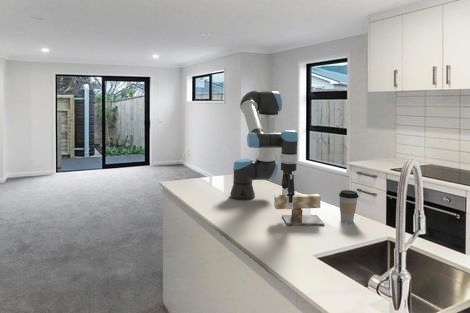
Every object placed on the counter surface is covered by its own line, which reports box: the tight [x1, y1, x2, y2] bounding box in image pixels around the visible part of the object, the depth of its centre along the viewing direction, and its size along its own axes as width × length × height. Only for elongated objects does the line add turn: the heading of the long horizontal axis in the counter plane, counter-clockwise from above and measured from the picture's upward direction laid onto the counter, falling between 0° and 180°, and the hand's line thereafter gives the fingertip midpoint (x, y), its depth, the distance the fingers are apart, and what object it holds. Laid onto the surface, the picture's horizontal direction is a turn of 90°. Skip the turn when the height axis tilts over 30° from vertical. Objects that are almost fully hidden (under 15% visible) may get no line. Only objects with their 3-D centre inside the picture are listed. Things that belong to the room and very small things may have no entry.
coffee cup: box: [338, 189, 360, 224], centre depth 187 cm, size 9×9×15 cm
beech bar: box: [273, 193, 322, 210], centre depth 186 cm, size 22×4×6 cm, turn 94°
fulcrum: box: [281, 208, 325, 227], centre depth 187 cm, size 18×14×7 cm
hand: (287, 205), depth 186 cm, fingers open, 13 cm apart
